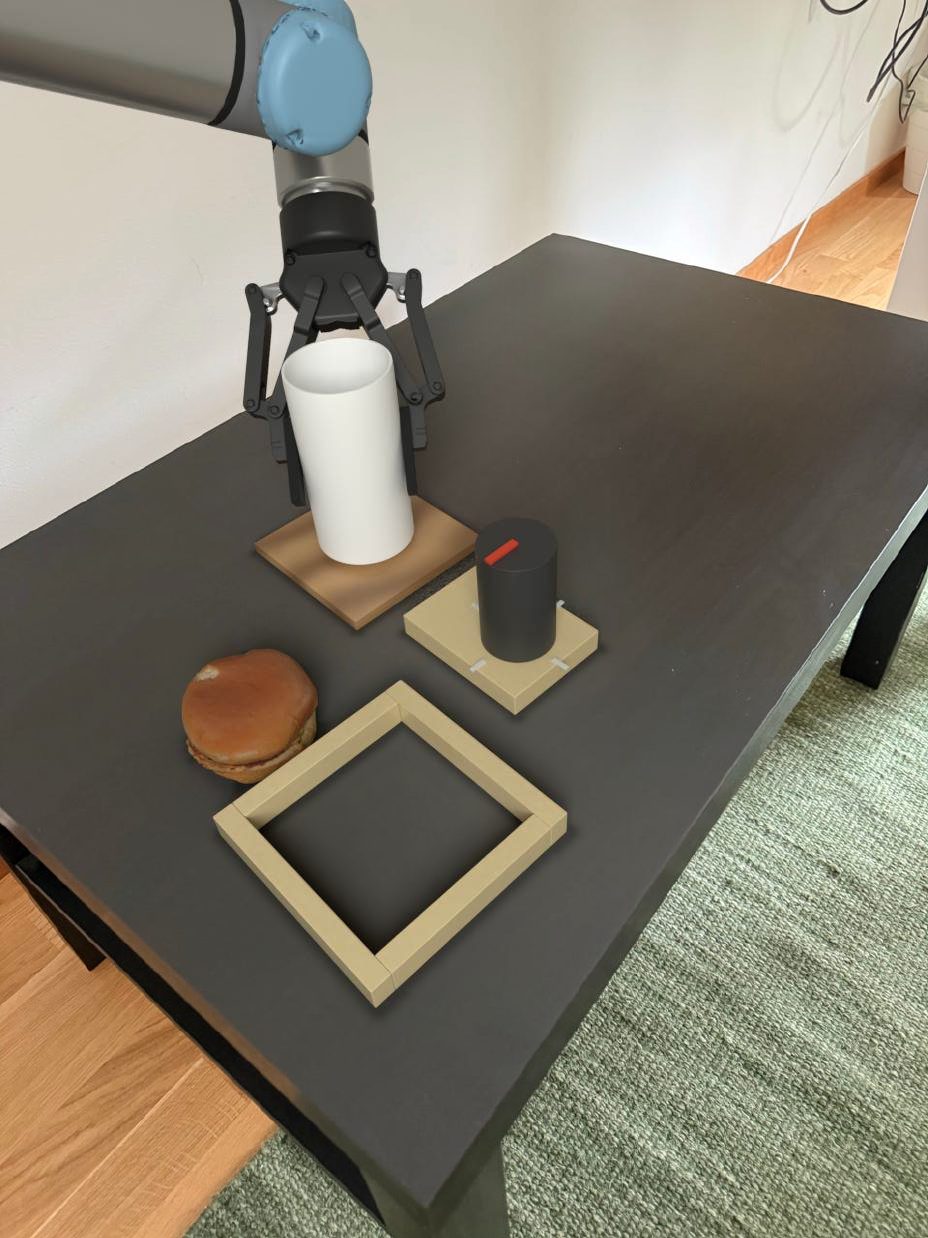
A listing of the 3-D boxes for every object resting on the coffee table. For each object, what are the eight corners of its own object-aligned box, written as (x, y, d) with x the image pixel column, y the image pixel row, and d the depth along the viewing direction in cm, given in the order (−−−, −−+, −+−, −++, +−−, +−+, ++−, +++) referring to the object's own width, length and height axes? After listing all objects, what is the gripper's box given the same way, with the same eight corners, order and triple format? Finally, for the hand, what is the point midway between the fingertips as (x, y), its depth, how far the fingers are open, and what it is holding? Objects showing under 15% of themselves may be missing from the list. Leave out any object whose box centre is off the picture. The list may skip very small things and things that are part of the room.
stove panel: (401, 635, 73) (398, 616, 71) (490, 573, 77) (489, 554, 76) (520, 726, 66) (519, 706, 64) (610, 651, 70) (611, 632, 69)
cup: (298, 543, 79) (257, 376, 67) (359, 492, 83) (330, 326, 72) (373, 577, 75) (343, 406, 64) (433, 521, 80) (415, 353, 68)
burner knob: (516, 598, 72) (513, 503, 65) (571, 633, 69) (574, 537, 62) (465, 637, 69) (457, 542, 63) (520, 675, 66) (518, 579, 60)
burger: (295, 795, 63) (281, 753, 59) (169, 776, 64) (149, 734, 61) (339, 685, 69) (329, 643, 66) (224, 671, 71) (208, 628, 68)
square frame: (220, 835, 61) (211, 816, 59) (403, 698, 68) (400, 679, 67) (375, 1009, 52) (370, 992, 51) (567, 831, 59) (567, 812, 58)
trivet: (256, 551, 81) (253, 543, 80) (379, 479, 87) (377, 470, 87) (356, 631, 73) (355, 622, 73) (483, 545, 80) (482, 536, 79)
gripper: (460, 216, 76) (487, 492, 76) (205, 240, 76) (232, 516, 76) (462, 172, 69) (492, 478, 69) (178, 198, 68) (208, 505, 68)
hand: (355, 498), depth 72 cm, fingers closed on cup, 8 cm apart
